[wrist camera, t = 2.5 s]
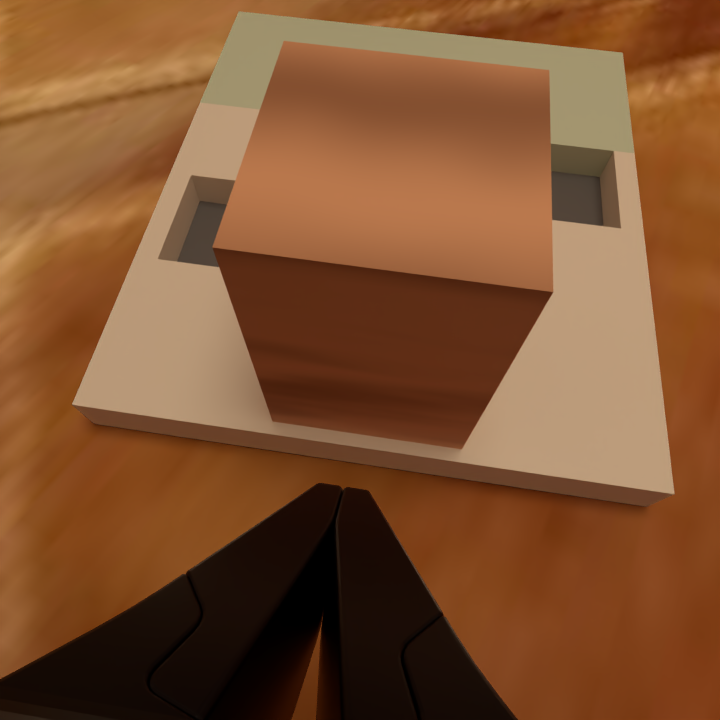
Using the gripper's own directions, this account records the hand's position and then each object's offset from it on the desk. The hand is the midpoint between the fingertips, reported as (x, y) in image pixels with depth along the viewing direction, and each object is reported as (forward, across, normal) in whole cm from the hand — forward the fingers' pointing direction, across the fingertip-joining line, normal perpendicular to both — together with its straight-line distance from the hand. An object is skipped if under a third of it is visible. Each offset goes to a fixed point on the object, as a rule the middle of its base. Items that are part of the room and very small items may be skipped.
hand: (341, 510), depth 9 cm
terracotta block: (+13, 0, +1) cm, 13 cm away
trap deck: (+18, 0, -1) cm, 18 cm away
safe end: (+26, 0, -10) cm, 28 cm away
